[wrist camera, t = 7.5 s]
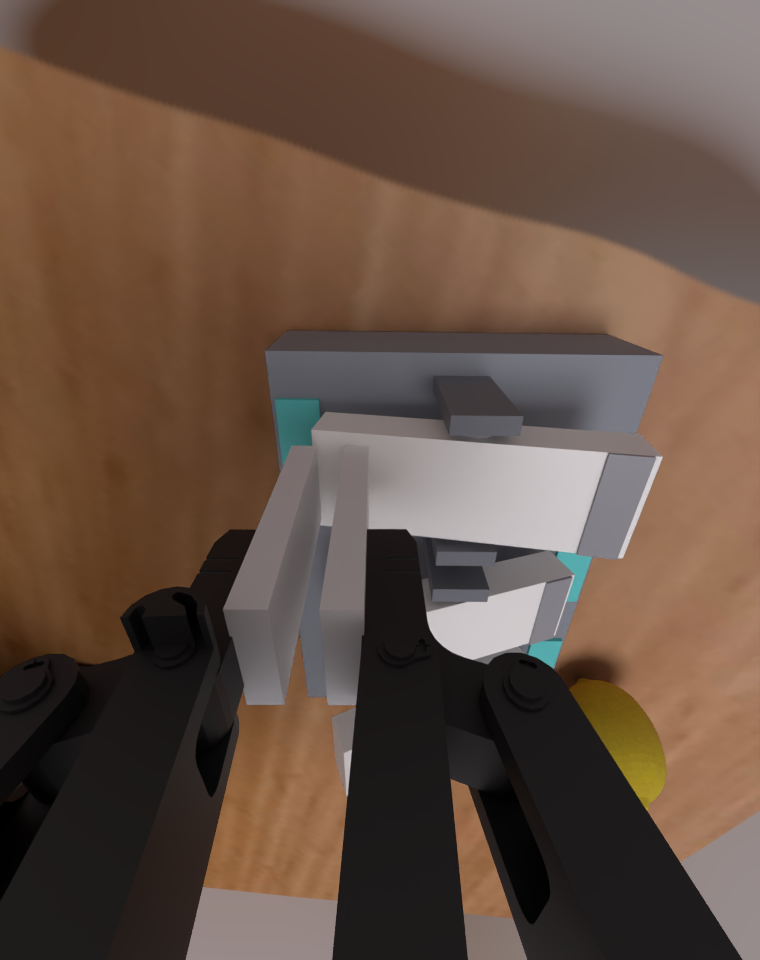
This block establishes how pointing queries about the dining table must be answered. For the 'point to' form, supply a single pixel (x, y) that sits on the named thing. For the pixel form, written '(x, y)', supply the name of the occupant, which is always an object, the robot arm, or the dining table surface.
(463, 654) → the rocker
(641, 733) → the lemon
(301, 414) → the console
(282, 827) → the dining table surface
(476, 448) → the rocker
